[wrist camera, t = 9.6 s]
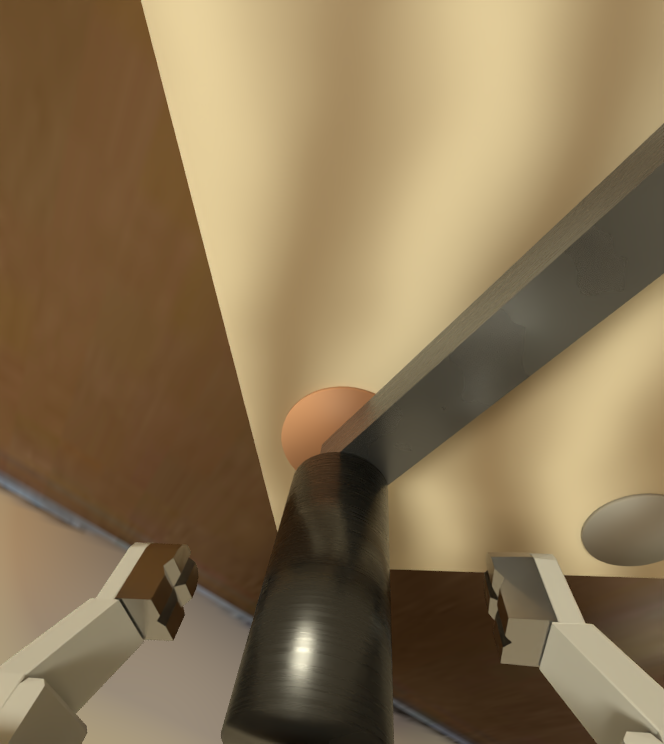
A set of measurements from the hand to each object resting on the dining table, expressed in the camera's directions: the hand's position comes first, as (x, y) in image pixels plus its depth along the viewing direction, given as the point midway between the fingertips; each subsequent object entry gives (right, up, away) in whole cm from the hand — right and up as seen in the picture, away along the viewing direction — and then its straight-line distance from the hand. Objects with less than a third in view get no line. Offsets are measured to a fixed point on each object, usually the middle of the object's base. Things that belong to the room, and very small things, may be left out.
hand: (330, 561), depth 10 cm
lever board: (+7, +6, +3) cm, 10 cm away
